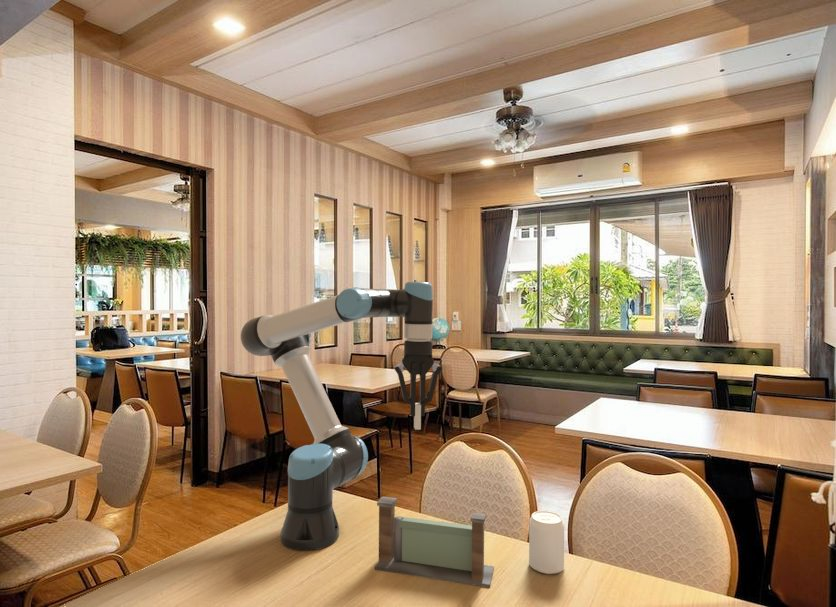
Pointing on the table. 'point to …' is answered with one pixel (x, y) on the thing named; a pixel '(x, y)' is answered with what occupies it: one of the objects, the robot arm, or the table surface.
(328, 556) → the table surface
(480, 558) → the gate frame
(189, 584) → the table surface
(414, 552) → the gate
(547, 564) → the white cylinder
